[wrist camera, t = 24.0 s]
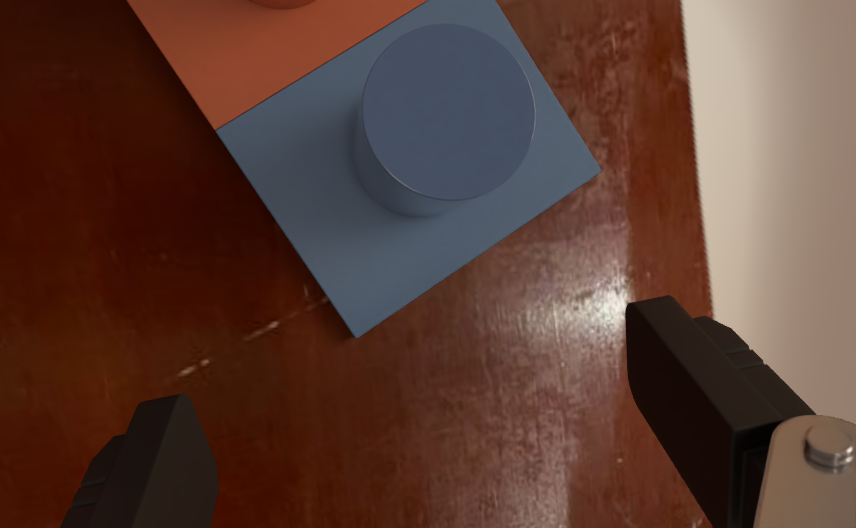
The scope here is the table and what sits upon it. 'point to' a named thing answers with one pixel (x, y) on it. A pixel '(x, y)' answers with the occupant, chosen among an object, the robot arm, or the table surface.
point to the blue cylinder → (441, 120)
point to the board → (350, 137)
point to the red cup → (283, 3)
